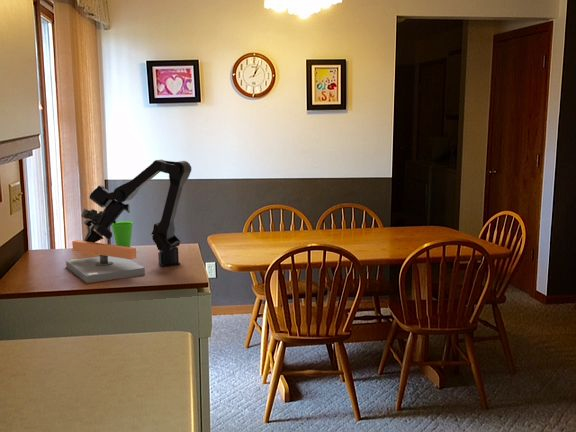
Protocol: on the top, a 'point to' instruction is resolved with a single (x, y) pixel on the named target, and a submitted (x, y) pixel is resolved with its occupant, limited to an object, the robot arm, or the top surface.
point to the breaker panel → (104, 268)
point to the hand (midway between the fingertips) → (82, 246)
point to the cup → (122, 233)
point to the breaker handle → (104, 250)
